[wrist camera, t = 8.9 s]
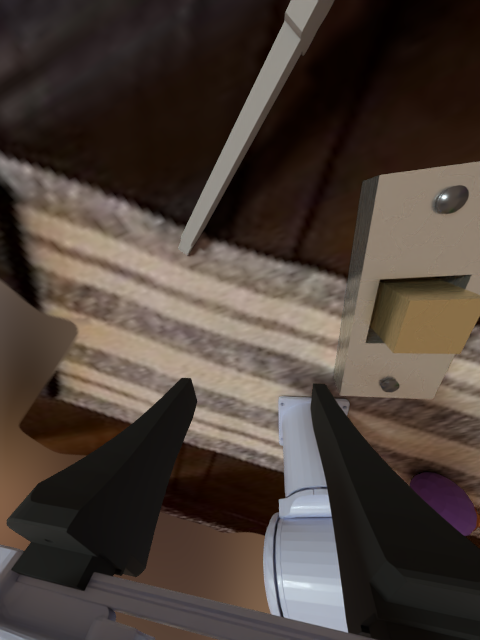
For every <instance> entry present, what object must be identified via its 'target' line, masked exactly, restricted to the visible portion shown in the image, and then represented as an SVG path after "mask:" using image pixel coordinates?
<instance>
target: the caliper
mask: <svg viewBox="0 0 480 640" xmlns="http://www.w3.org/2000/svg"><path fill="white" fill-rule="evenodd" d="M333 2H334V0H291V1H290V4H289V6H288V8H287V10H286V12H285V21H284V24H283V26H282V28H281V30H280V32H279V34H278V36H277V38H276V40H275V42H274V44H273V46H272V49H271V51H270V53H269V55H268V57H267V59H266V61H265V63H264V65H263V67H262V69H261V71H260V73H259V76H258V78H257V80H256V82H255V84H254V86H253V88H252V90H251V92H250V94H249V96H248V98H247V101H246V103H245V105H244V107H243V109H242V111H241V113H240V115H239V117H238V119H237V121H236V123H235V126H234V128H233V130H232V132H231V134H230V136H229V138H228V140H227V142H226V144H225V146H224V148H223V150H222V153H221V155H220V157H219V159H218V161H217V163H216V165H215V167H214V169H213V171H212V173H211V175H210V178H209V180H208V182H207V184H206V186H205V188H204V190H203V192H202V194H201V196H200V198H199V200H198V203H197V205H196V207H195V209H194V211H193V213H192V215H191V217H190V219H189V221H188V223H187V226H186V228H185V230H184V232H183V234H182V236H181V238H180V239H181V242H180V244H179V248H178V249H179V250H180V251H182V252H183V253H184V254H186V255H187V256H188V255H189V253H190V251H191V250H192V248H193V246H194V244H195V243H196V242H197V240H198V238H199V237H200V235H201V233H202V232H203V230H204V229H205V227H206V225H207V223H208V221H209V220H210V218H211V216H212V214H213V212H214V211H215V209H216V207H217V205H218V203H219V201H220V200H221V198H222V196H223V194H224V192H225V191H226V189H227V187H228V185H229V183H230V181H231V180H232V178H233V176H234V174H235V172H236V171H237V169H238V167H239V165H240V163H241V161H242V160H243V158H244V156H245V154H246V152H247V151H248V149H249V147H250V145H251V143H252V142H253V140H254V138H255V136H256V134H257V132H258V131H259V129H260V127H261V125H262V123H263V122H264V120H265V118H266V116H267V114H268V113H269V111H270V109H271V107H272V105H273V103H274V102H275V100H276V98H277V96H278V94H279V93H280V91H281V89H282V87H283V85H284V84H285V82H286V80H287V78H288V76H289V75H290V73H291V71H292V69H293V67H294V65H295V64H296V62H297V60H298V58H299V56H300V55H301V54H302V55H303V56H304V54H305V53H306V51H307V49H308V47H309V45H310V43H311V42H312V40H313V38H314V36H315V34H316V32H317V30H318V28H319V26H320V25H321V23H322V22H323V20H324V18H325V17H326V15H327V13H328V11H329V9H330V8H331V6H332V4H333Z"/></svg>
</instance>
